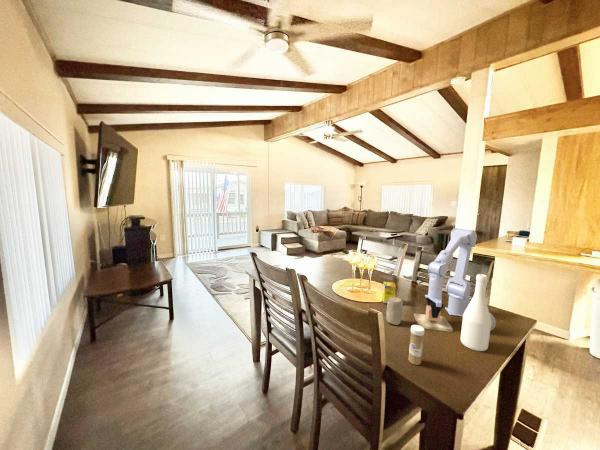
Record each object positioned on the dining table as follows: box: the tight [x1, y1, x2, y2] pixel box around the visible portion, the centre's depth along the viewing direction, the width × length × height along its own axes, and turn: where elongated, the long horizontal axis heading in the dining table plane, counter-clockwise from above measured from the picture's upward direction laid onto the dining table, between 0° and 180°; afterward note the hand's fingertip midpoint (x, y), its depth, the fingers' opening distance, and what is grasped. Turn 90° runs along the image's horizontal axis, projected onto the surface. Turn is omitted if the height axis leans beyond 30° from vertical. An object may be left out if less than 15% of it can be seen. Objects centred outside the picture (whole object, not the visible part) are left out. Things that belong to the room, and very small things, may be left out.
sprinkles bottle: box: [407, 324, 425, 366], centre depth 96 cm, size 5×5×14 cm
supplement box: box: [382, 281, 397, 305], centre depth 146 cm, size 6×6×11 cm
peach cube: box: [425, 304, 442, 321], centre depth 124 cm, size 5×5×5 cm
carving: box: [385, 296, 404, 326], centre depth 124 cm, size 6×8×12 cm
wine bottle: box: [459, 273, 491, 352], centre depth 105 cm, size 10×10×30 cm
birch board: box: [413, 313, 454, 333], centre depth 124 cm, size 14×12×1 cm
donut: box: [489, 312, 497, 332], centre depth 118 cm, size 10×4×10 cm, turn 63°
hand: (432, 314), depth 124 cm, fingers closed on peach cube, 5 cm apart
